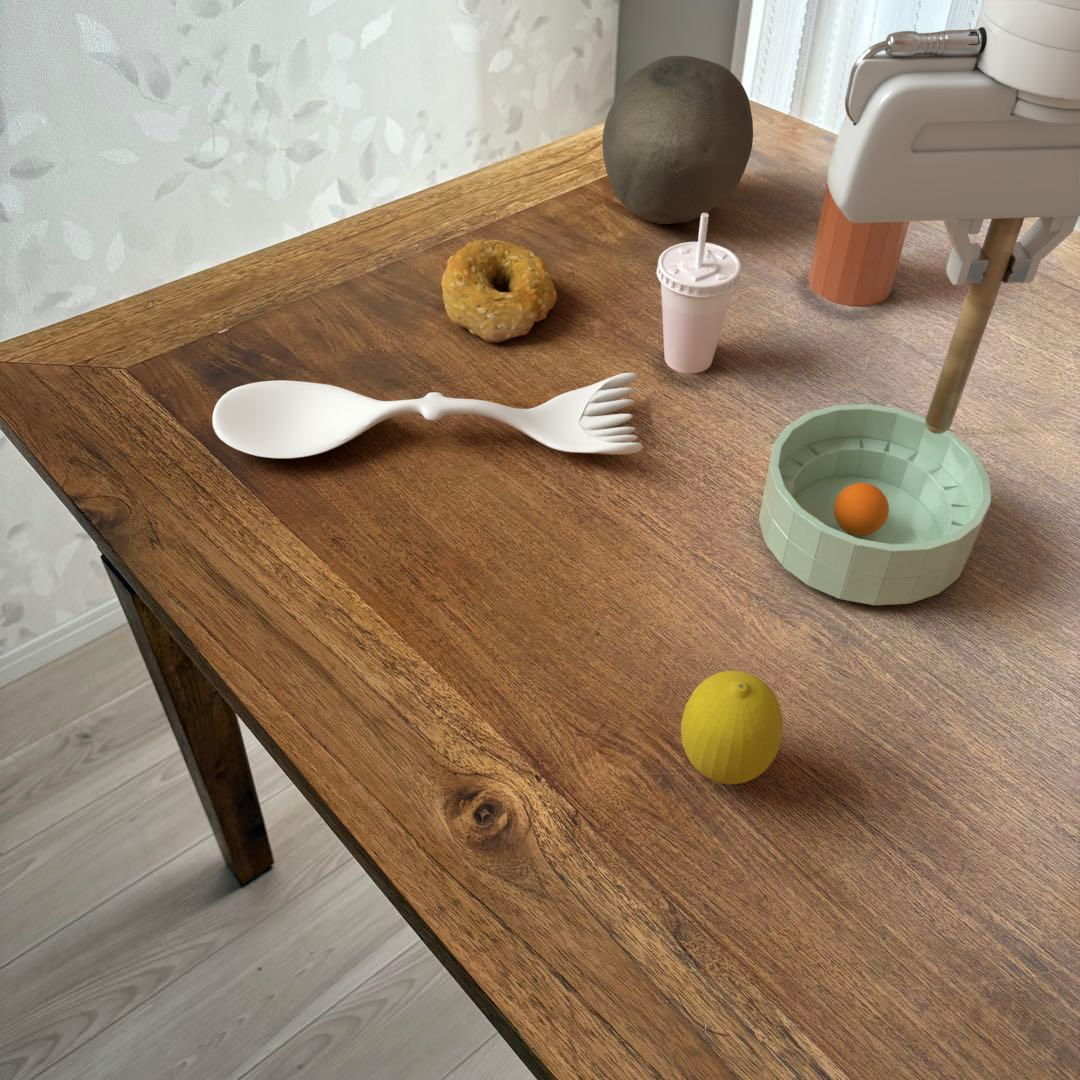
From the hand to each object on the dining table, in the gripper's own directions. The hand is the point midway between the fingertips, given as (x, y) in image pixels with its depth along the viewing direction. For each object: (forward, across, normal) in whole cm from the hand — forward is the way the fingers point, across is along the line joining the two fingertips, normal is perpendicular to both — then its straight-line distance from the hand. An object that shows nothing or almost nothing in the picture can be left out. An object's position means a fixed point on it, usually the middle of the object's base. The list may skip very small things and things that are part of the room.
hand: (987, 278), depth 63 cm
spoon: (+21, -33, +13) cm, 41 cm away
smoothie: (+21, -12, +20) cm, 31 cm away
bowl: (+21, -3, 0) cm, 21 cm away
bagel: (+21, -27, +29) cm, 45 cm away
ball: (+18, -3, 0) cm, 18 cm away
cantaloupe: (+21, -10, +43) cm, 49 cm away
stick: (+11, 0, 0) cm, 11 cm away
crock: (+21, +4, +30) cm, 37 cm away
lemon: (+21, -16, -18) cm, 32 cm away
